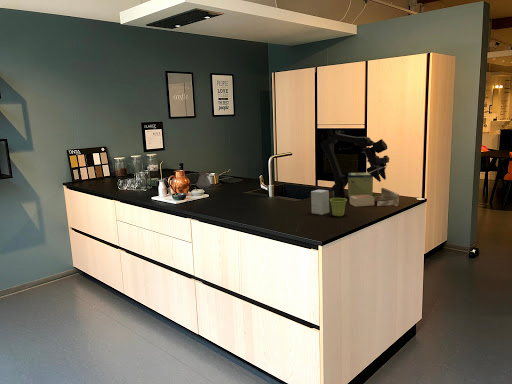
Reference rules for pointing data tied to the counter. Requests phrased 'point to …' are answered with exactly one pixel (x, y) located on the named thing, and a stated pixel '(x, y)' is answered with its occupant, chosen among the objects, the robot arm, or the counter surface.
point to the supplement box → (320, 201)
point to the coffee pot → (203, 180)
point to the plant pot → (338, 206)
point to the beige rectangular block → (361, 200)
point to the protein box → (360, 184)
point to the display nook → (387, 198)
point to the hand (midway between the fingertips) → (382, 180)
